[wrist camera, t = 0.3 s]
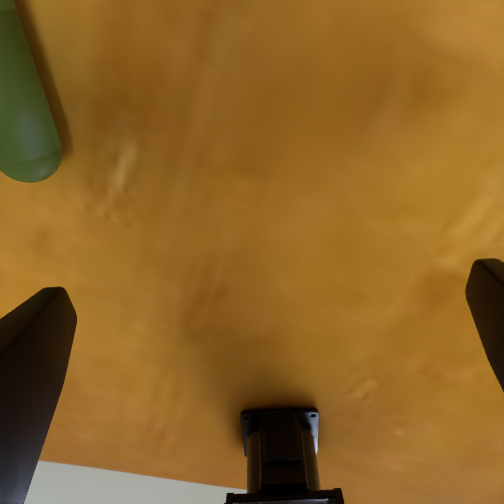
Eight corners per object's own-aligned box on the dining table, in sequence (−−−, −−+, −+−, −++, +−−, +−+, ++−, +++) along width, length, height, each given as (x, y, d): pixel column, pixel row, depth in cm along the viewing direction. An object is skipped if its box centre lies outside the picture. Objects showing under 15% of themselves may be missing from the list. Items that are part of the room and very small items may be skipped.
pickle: (79, 165, 23) (57, 191, 21) (21, 168, 23) (-8, 195, 21) (16, -39, 18) (-24, -38, 15) (-58, -34, 18) (-110, -32, 16)
